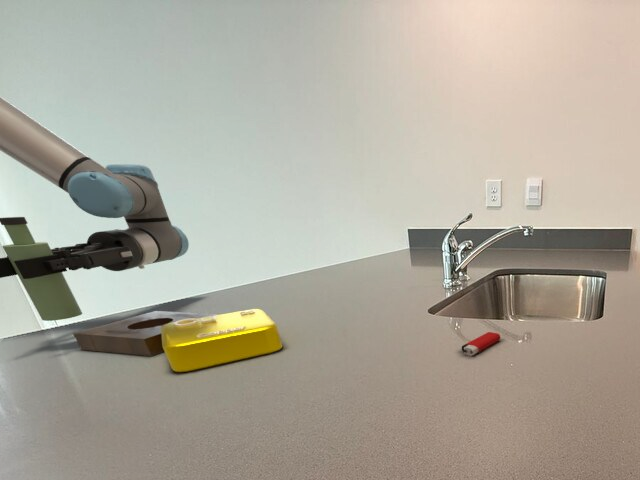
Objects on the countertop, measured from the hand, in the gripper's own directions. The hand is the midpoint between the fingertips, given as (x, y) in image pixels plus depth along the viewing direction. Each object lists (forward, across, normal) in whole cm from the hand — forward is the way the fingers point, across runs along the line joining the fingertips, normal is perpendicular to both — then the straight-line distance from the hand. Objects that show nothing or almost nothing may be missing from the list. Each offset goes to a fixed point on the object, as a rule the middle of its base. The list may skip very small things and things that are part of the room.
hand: (1, 270), depth 62 cm
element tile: (+1, -30, -14) cm, 33 cm away
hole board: (-6, -13, -14) cm, 20 cm away
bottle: (-5, 0, -9) cm, 10 cm away
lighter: (+6, -72, -14) cm, 74 cm away
